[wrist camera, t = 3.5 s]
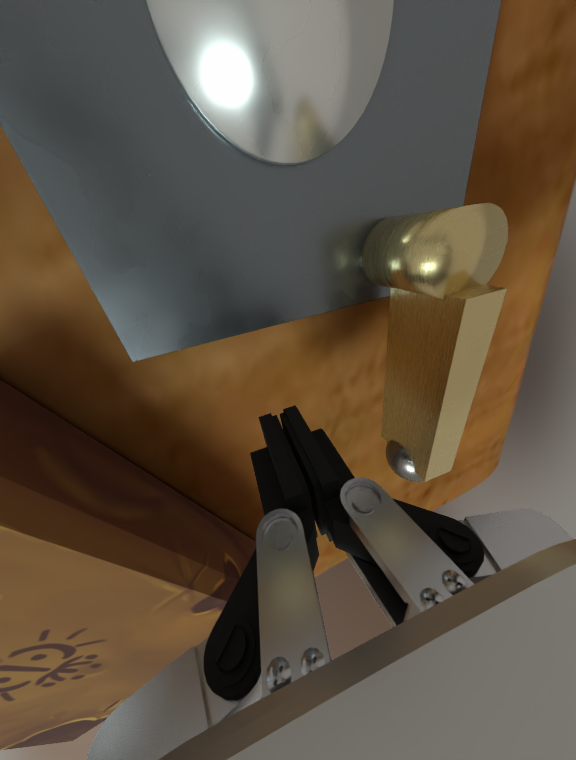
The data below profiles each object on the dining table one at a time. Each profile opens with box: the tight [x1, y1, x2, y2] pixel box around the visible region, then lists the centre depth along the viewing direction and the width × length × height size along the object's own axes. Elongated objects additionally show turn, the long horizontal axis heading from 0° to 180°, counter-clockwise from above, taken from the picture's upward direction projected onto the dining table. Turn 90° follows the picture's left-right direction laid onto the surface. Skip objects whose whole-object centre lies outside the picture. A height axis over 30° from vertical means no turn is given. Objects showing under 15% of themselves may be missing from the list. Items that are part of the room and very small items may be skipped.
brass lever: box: [362, 203, 508, 482], centre depth 12 cm, size 13×3×5 cm, turn 9°
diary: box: [0, 380, 256, 750], centre depth 15 cm, size 23×19×6 cm
